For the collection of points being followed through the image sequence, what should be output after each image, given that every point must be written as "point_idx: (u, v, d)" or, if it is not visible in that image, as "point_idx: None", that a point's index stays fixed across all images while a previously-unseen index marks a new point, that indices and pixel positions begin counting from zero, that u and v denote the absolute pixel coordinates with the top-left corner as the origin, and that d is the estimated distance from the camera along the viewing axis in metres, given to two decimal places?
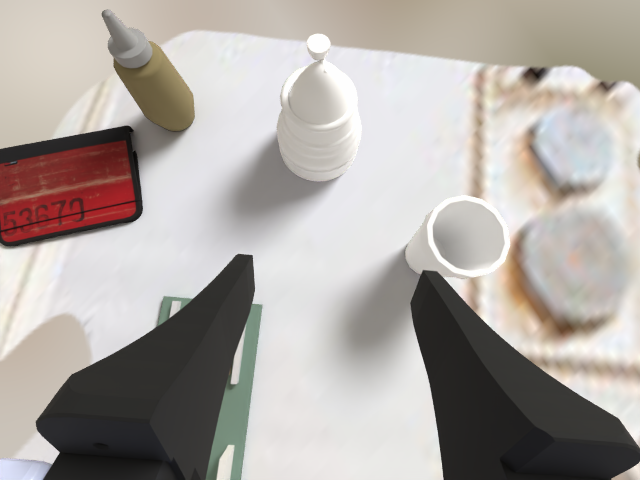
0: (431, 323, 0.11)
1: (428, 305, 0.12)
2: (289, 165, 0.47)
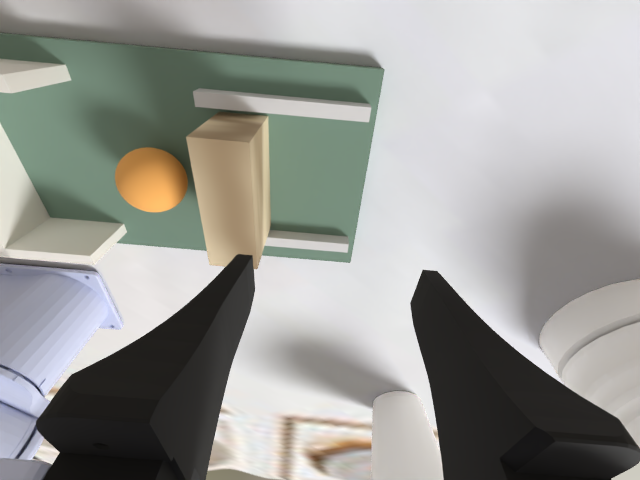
0: (430, 323, 0.11)
1: (428, 306, 0.12)
2: (601, 305, 0.26)
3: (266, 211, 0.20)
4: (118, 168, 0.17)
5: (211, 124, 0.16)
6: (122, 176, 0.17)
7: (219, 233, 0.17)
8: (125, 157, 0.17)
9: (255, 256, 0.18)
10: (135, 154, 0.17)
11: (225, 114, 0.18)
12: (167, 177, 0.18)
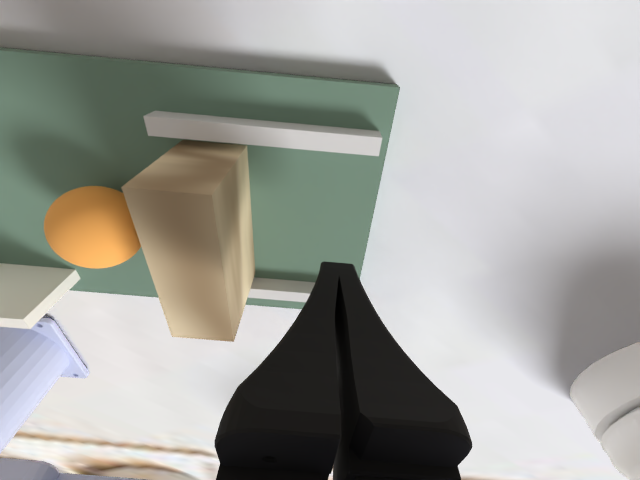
0: (337, 315, 0.11)
1: (337, 298, 0.12)
2: None
3: (247, 262, 0.16)
4: (46, 217, 0.13)
5: (165, 162, 0.12)
6: (50, 228, 0.13)
7: (180, 302, 0.13)
8: (56, 202, 0.13)
9: (230, 328, 0.14)
10: (69, 198, 0.13)
11: (190, 144, 0.14)
12: (113, 228, 0.13)
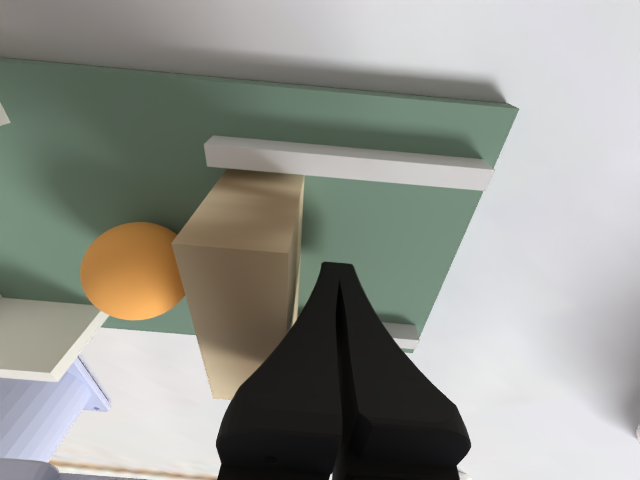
0: (337, 315, 0.11)
1: (336, 298, 0.12)
2: None
3: (296, 304, 0.14)
4: (84, 264, 0.11)
5: (217, 201, 0.10)
6: (90, 279, 0.11)
7: (228, 365, 0.11)
8: (95, 246, 0.11)
9: None
10: (111, 241, 0.11)
11: (238, 173, 0.11)
12: (163, 276, 0.11)
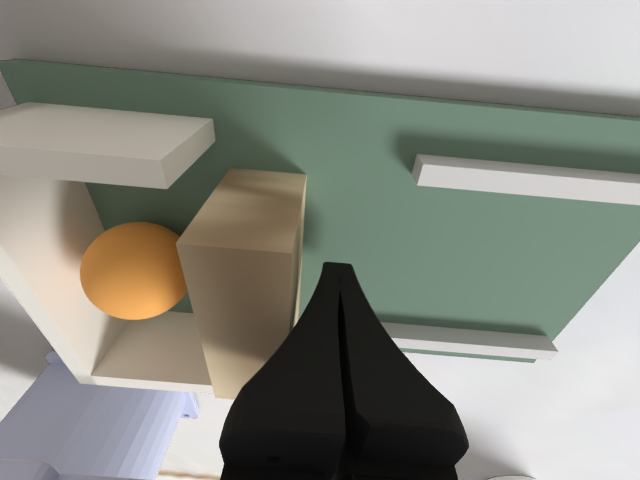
0: None
1: None
2: None
3: (297, 304, 0.14)
4: (176, 247, 0.12)
5: (220, 202, 0.10)
6: None
7: (231, 364, 0.11)
8: (158, 239, 0.12)
9: None
10: (146, 229, 0.12)
11: (241, 174, 0.11)
12: None
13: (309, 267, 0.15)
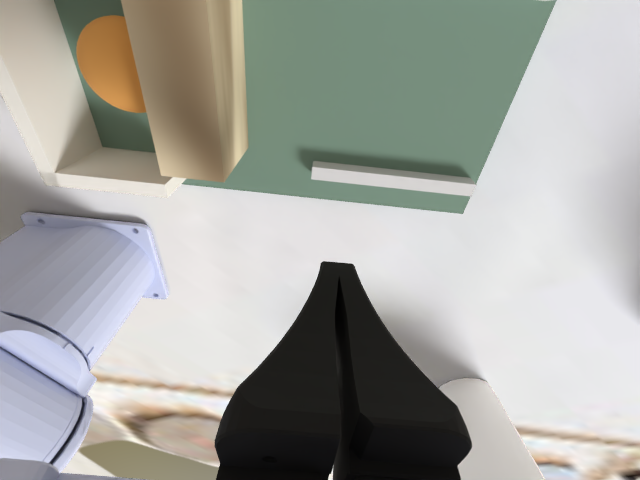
0: (337, 315, 0.11)
1: (337, 298, 0.12)
2: None
3: (240, 117, 0.16)
4: None
5: None
6: None
7: (169, 122, 0.13)
8: None
9: (220, 161, 0.14)
10: None
11: None
12: None
13: (252, 91, 0.17)
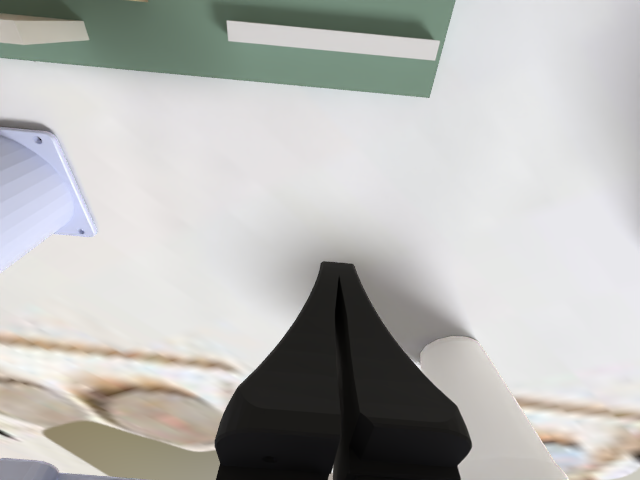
0: (338, 316, 0.11)
1: (337, 298, 0.12)
2: None
3: None
4: None
5: None
6: None
7: None
8: None
9: None
10: None
11: None
12: None
13: None
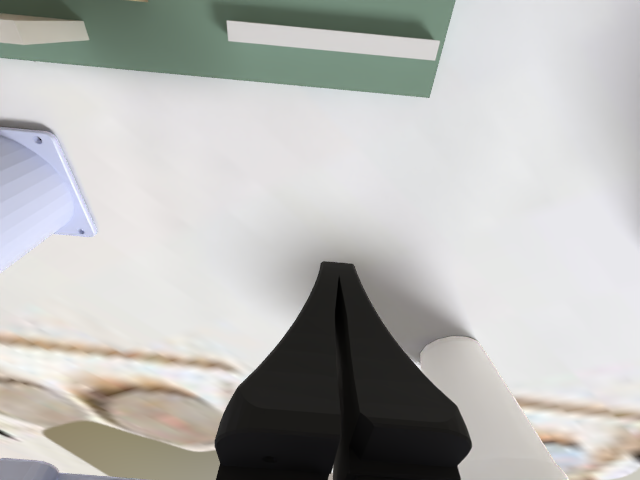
0: (338, 316, 0.11)
1: (337, 298, 0.12)
2: None
3: None
4: None
5: None
6: None
7: None
8: None
9: None
10: None
11: None
12: None
13: None
